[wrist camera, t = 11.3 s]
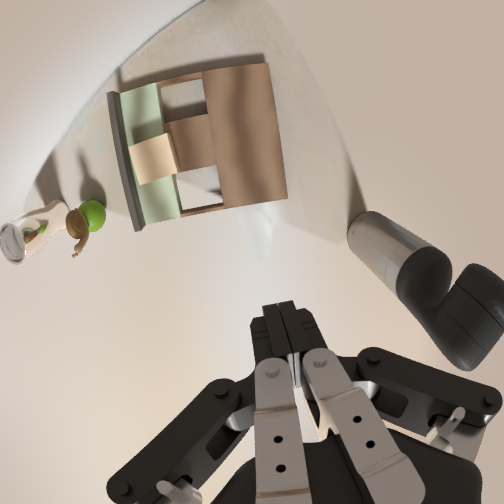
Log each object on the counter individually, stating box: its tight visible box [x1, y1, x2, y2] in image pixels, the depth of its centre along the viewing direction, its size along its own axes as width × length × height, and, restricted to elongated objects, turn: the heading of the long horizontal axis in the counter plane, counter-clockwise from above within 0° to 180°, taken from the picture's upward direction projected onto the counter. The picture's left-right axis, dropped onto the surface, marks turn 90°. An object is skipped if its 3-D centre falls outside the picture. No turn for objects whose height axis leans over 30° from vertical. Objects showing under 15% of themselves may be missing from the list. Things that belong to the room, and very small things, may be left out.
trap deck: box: [107, 63, 288, 232], centre depth 37 cm, size 24×22×6 cm
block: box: [128, 133, 181, 185], centre depth 36 cm, size 6×6×3 cm
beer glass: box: [0, 200, 69, 265], centre depth 34 cm, size 7×7×15 cm
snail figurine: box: [65, 200, 106, 258], centre depth 37 cm, size 5×6×12 cm
